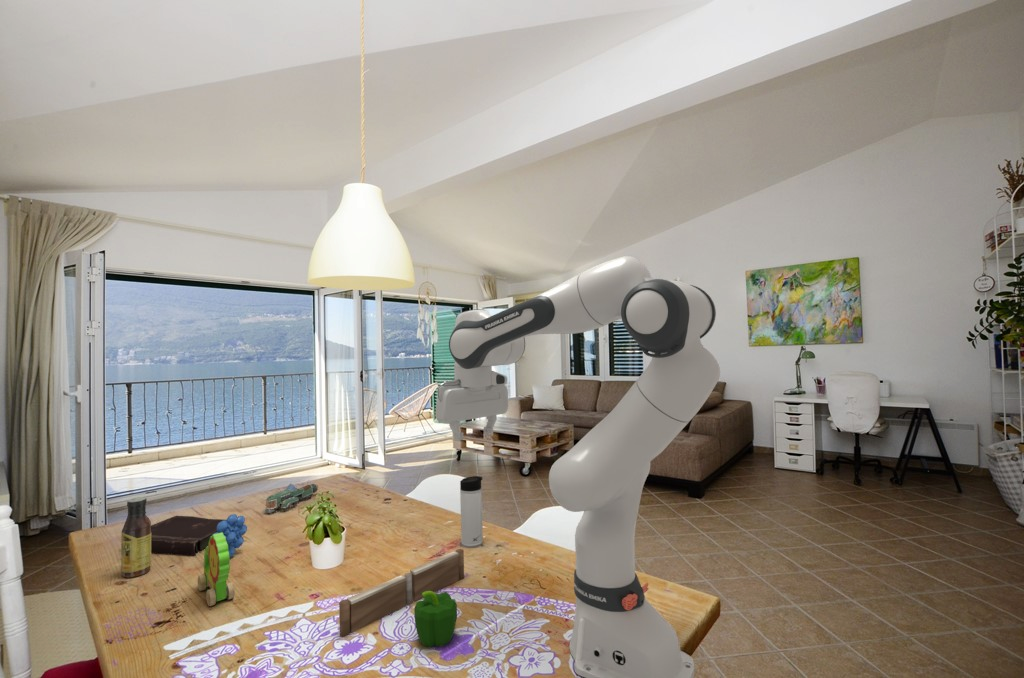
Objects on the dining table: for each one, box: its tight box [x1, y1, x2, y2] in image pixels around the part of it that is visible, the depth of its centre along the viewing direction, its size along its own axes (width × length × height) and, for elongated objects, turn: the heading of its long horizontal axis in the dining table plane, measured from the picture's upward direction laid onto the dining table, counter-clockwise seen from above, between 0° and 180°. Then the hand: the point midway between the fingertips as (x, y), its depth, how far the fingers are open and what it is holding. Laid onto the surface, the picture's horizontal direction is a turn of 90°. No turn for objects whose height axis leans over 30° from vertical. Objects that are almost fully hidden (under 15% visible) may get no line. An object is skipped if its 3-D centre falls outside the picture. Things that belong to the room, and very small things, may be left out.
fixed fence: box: [338, 572, 413, 638], centre depth 100 cm, size 2×17×7 cm, turn 137°
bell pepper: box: [413, 591, 458, 648], centre depth 92 cm, size 8×8×10 cm
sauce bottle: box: [120, 496, 152, 579], centre depth 125 cm, size 7×6×20 cm
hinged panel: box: [409, 548, 465, 602], centre depth 112 cm, size 2×15×7 cm, turn 137°
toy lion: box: [197, 532, 235, 607], centre depth 112 cm, size 16×5×15 cm, turn 44°
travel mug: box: [459, 475, 484, 549], centre depth 137 cm, size 6×7×20 cm
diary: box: [151, 515, 227, 557], centre depth 146 cm, size 19×25×5 cm
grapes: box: [214, 513, 248, 559], centre depth 133 cm, size 12×7×12 cm, turn 161°
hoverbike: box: [263, 479, 319, 515], centre depth 180 cm, size 10×25×8 cm, turn 160°
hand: (474, 437), depth 110 cm, fingers open, 8 cm apart
